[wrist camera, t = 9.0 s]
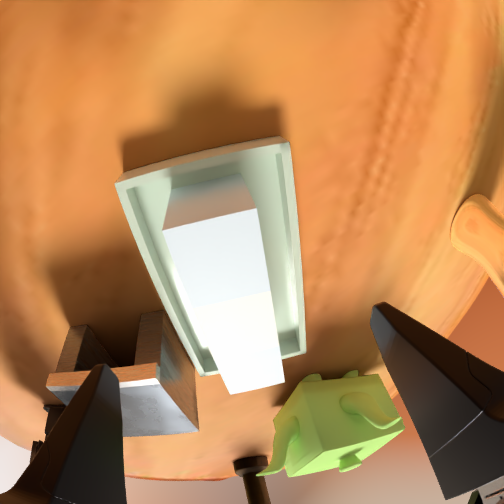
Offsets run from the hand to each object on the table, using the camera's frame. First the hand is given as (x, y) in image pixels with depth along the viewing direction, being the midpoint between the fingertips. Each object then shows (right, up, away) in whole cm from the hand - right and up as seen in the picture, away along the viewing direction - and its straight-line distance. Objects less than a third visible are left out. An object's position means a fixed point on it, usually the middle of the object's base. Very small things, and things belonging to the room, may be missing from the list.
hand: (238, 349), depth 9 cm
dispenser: (-10, -6, +14) cm, 18 cm away
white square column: (-1, +1, +11) cm, 11 cm away
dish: (-1, +2, +12) cm, 12 cm away
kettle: (+9, -13, +23) cm, 28 cm away
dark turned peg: (0, -37, +36) cm, 51 cm away
